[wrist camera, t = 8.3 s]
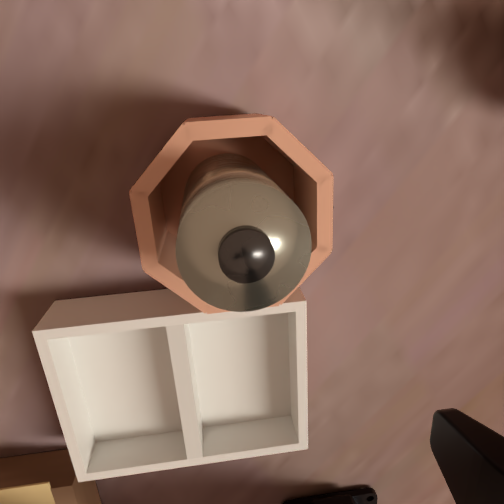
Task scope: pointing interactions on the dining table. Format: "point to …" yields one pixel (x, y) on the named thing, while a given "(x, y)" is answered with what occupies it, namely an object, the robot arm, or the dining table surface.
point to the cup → (210, 144)
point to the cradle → (44, 480)
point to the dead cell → (240, 236)
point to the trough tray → (173, 381)
